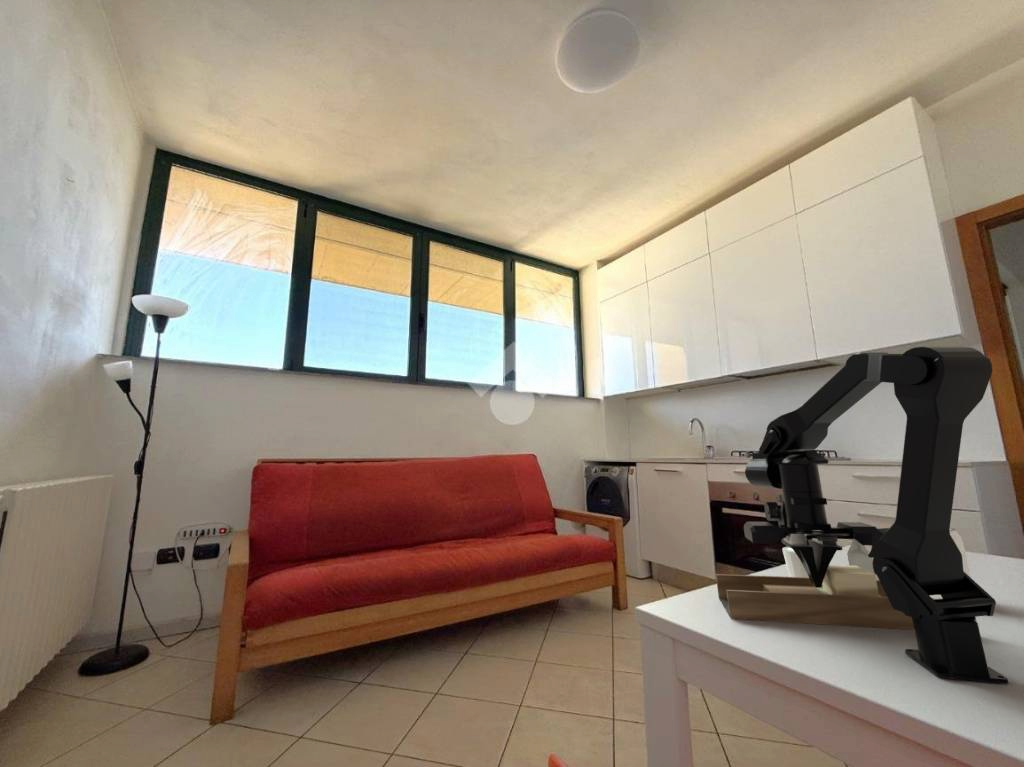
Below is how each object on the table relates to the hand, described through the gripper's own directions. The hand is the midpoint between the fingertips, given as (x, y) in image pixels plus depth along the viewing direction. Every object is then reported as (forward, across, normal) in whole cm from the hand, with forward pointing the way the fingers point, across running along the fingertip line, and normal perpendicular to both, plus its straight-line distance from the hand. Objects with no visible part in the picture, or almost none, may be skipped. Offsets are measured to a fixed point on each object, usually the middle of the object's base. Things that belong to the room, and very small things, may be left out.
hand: (817, 586), depth 68 cm
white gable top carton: (+4, -16, -19) cm, 25 cm away
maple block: (+1, -4, 0) cm, 5 cm away
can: (+4, -24, -11) cm, 26 cm away
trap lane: (+4, -1, 0) cm, 4 cm away
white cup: (+4, -4, -15) cm, 16 cm away
